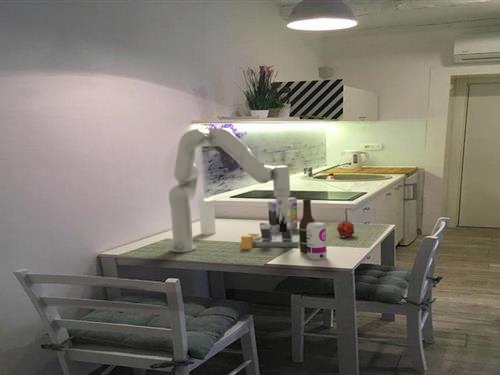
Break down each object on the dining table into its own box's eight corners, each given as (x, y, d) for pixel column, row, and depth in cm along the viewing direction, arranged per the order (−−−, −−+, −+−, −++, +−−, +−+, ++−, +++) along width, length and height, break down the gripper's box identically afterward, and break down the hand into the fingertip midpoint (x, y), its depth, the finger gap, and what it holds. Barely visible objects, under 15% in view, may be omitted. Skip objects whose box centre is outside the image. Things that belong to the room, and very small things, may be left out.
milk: (215, 233, 262) (214, 194, 259) (207, 235, 258) (205, 195, 255) (209, 231, 266) (207, 193, 264) (200, 233, 262) (198, 194, 260)
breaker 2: (291, 240, 226) (289, 226, 221) (282, 240, 227) (279, 225, 222) (292, 237, 228) (290, 223, 222) (282, 237, 229) (280, 223, 224)
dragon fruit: (348, 236, 245) (346, 245, 234) (334, 227, 246) (332, 235, 235) (357, 224, 242) (356, 232, 231) (344, 215, 243) (341, 222, 232)
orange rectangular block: (250, 249, 222) (250, 236, 221) (241, 249, 223) (241, 236, 222) (253, 247, 226) (252, 234, 225) (244, 246, 227) (243, 234, 226)
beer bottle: (315, 249, 216) (314, 197, 213) (318, 253, 208) (316, 200, 206) (298, 250, 216) (297, 198, 213) (301, 254, 208) (299, 201, 205)
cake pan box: (273, 234, 252) (272, 202, 250) (267, 233, 256) (265, 201, 254) (298, 228, 264) (297, 197, 262) (292, 227, 268) (291, 197, 266)
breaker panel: (298, 247, 221) (297, 239, 221) (241, 246, 228) (240, 238, 228) (302, 240, 235) (302, 232, 234) (248, 239, 242) (248, 232, 241)
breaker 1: (271, 240, 229) (268, 225, 223) (262, 240, 230) (259, 225, 224) (272, 237, 230) (269, 223, 225) (262, 237, 231) (259, 222, 226)
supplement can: (330, 257, 201) (329, 222, 200) (319, 261, 195) (318, 226, 194) (314, 254, 207) (313, 221, 205) (303, 258, 201) (302, 224, 199)
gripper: (287, 194, 208) (288, 235, 210) (292, 190, 222) (293, 228, 224) (270, 194, 210) (272, 235, 212) (277, 190, 224) (278, 228, 226)
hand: (283, 231), depth 218 cm, fingers closed
